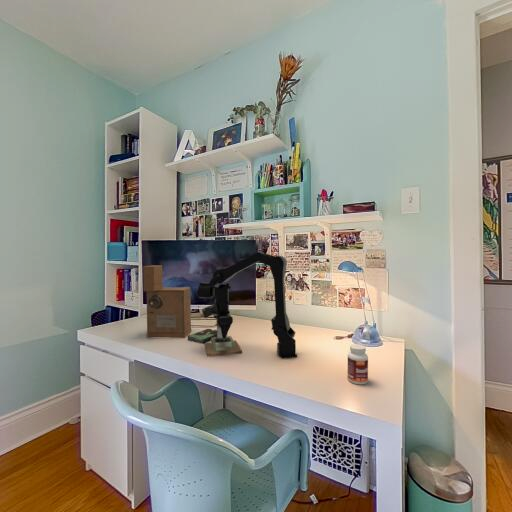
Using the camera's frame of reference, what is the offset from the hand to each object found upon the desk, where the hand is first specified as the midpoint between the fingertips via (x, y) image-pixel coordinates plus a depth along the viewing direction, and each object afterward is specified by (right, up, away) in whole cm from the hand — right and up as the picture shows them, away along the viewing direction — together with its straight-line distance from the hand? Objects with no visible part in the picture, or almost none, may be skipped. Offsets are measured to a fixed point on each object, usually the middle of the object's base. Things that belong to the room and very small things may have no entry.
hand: (222, 335), depth 121 cm
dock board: (0, -6, 0) cm, 6 cm away
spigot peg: (0, -5, 0) cm, 5 cm away
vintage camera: (-30, -6, +21) cm, 37 cm away
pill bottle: (+47, -6, -30) cm, 56 cm away
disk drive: (-10, -7, +16) cm, 20 cm away
